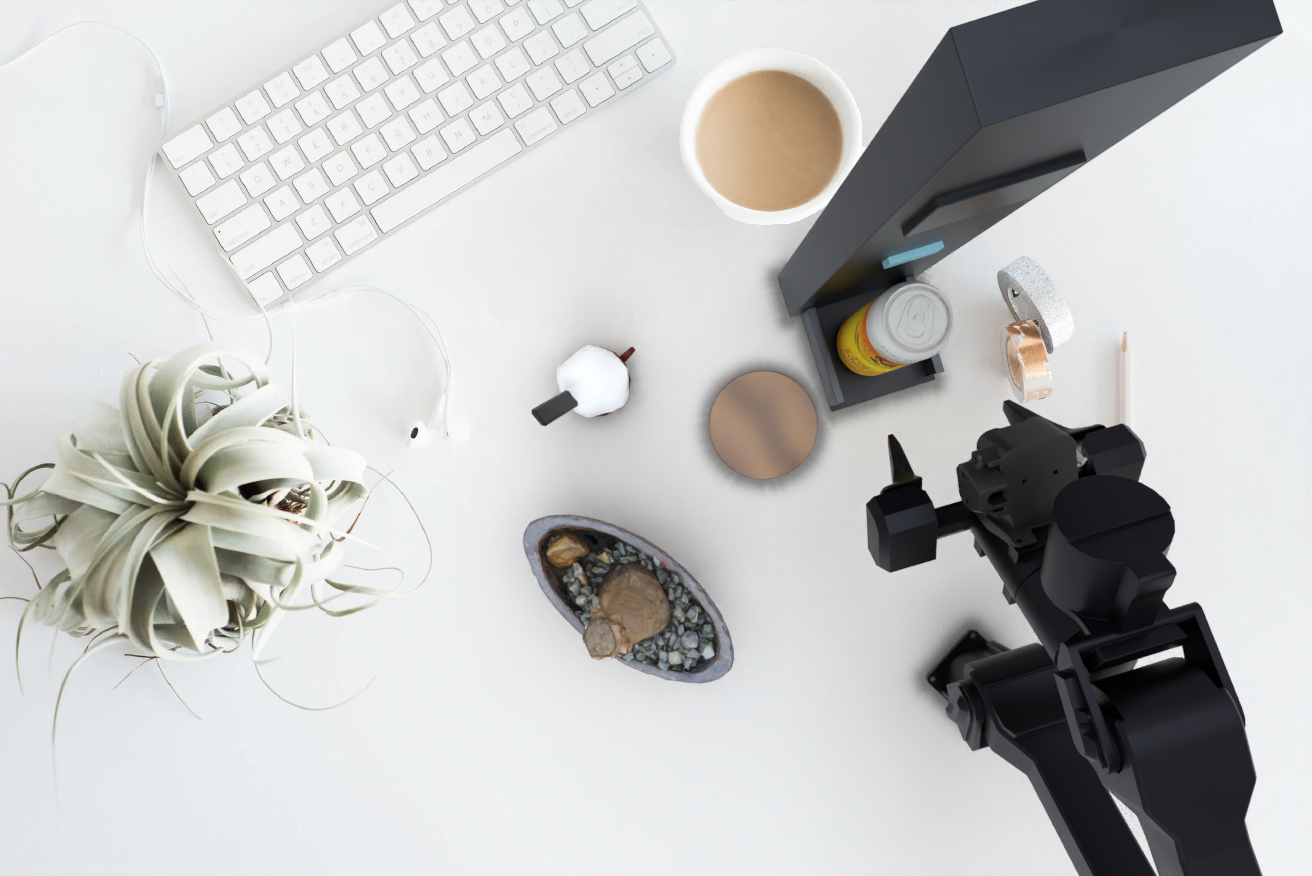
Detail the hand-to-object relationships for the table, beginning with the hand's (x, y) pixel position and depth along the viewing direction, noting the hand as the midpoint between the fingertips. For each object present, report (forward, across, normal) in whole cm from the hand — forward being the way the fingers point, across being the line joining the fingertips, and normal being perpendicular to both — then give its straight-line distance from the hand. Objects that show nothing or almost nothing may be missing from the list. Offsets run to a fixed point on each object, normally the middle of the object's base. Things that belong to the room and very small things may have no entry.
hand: (947, 421), depth 64 cm
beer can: (+15, +1, +4) cm, 15 cm away
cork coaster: (+12, +12, +7) cm, 18 cm away
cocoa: (+18, +26, +2) cm, 32 cm away
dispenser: (+17, +1, +3) cm, 17 cm away
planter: (+5, +28, +15) cm, 32 cm away
